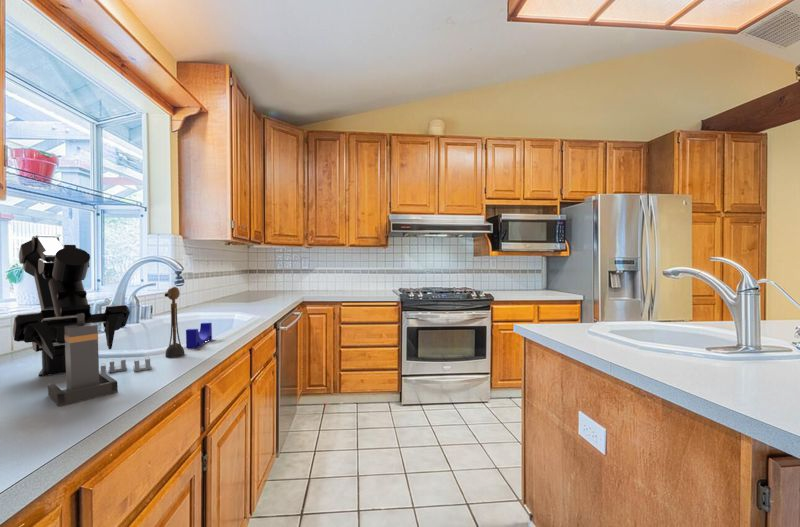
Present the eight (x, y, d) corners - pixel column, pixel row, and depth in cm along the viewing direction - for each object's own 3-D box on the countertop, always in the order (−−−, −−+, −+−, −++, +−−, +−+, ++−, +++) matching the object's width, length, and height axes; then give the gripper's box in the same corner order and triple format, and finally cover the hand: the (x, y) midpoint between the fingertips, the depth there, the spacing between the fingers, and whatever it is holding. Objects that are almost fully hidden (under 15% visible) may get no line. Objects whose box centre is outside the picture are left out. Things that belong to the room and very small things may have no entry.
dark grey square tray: (48, 395, 78) (48, 384, 78) (104, 382, 86) (104, 372, 86) (58, 406, 73) (57, 394, 72) (117, 392, 80) (117, 381, 80)
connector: (66, 392, 79) (63, 314, 78) (93, 385, 82) (91, 311, 82) (71, 397, 76) (68, 316, 76) (100, 390, 80) (97, 313, 79)
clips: (88, 372, 93) (88, 362, 93) (149, 363, 101) (149, 353, 101) (87, 379, 88) (87, 368, 88) (151, 369, 96) (151, 358, 96)
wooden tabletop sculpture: (176, 358, 105) (174, 287, 105) (159, 358, 105) (157, 287, 105) (187, 353, 111) (186, 285, 111) (171, 353, 111) (170, 285, 111)
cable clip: (198, 340, 129) (197, 322, 128) (211, 339, 129) (211, 322, 129) (181, 349, 117) (180, 330, 116) (196, 348, 117) (196, 329, 117)
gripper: (112, 313, 96) (128, 364, 89) (7, 325, 81) (16, 386, 75) (121, 284, 91) (139, 335, 84) (11, 291, 76) (21, 353, 69)
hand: (83, 352), depth 78 cm, fingers open, 9 cm apart
